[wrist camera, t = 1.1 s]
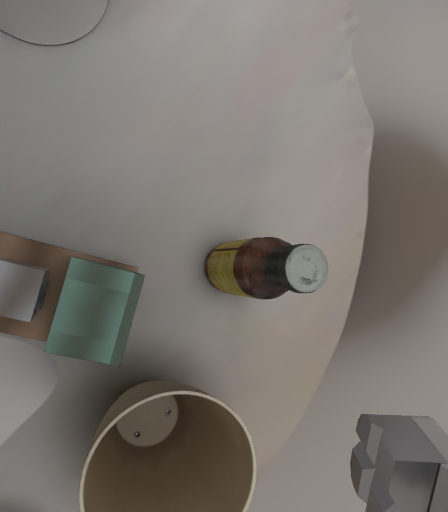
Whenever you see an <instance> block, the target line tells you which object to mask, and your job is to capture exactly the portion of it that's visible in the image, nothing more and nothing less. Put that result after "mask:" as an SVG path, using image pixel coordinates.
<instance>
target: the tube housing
mask: <svg viewBox="0 0 448 512" xmlns="http://www.w3.org/2000/svg"><path fill="white" fill-rule="evenodd" d="M137 271H138V268H136V267H132V266H128V265H125V264H121V263H117V262H113V261H109V260H106V259H102V258H98V257H94V256H91V255H87V254H83V253H79V252H75V251H72V250H68V249H64V248H60V247H56V246H53V245H49V244H45V243H41V242H37V241H34V240H30V239H26V238H22V237H18V236H15V235H11V234H7V233H3V232H0V332H3V333H8V334H13V335H18V336H23V337H28V338H33V339H38V340H43V341H47V343H46V346H45V350H44V352H47V353H53V354H58V355H63V356H68V357H73V358H79V359H84V360H89V361H94V362H99V363H105V364H110V365H115V366H120V363H121V360H122V356H123V353H124V349H125V345H126V342H127V338H128V335H129V331H130V327H131V324H132V320H133V317H134V313H135V309H136V306H137V302H138V299H139V295H140V291H141V288H142V284H143V281H144V277H145V276H144V275H142V274H139V273H137ZM43 279H44V280H48V281H50V284H49V289H48V292H47V296H46V299H45V302H44V305H43V307H42V310H40V309H35V306H36V302H37V299H38V295H39V292H40V289H41V285H42V282H43Z"/></svg>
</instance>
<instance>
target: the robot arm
mask: <svg viewBox="0 0 448 512" xmlns="http://www.w3.org/2000/svg"><path fill="white" fill-rule="evenodd" d="M107 3H108V0H0V30H2V31H4V32H6V33H8V34H10V35H12V36H14V37H16V38H18V39H21V40H24V41H27V42H30V43H35V44H41V45H59V44H65V43H69V42H72V41H75V40H77V39H79V38H81V37H83V36H84V35H86V34H87V33H89V32H90V31H91V30H92V29H93V28H94V27H95V26H96V25H97V24H98V22H99V21H100V20H101V18H102V16H103V14H104V12H105V9H106V6H107ZM356 432H357V434H358V436H359V438H360V440H361V441H360V442H359V443H358V444H357V445H356V446H355V447H354V448H353V449H352V456H351V462H350V465H351V478H352V482H353V486H354V489H355V491H356V493H357V496H358V497H359V498H361V499H362V500H363V501H364V502H366V503H367V507H366V512H448V435H447V434H446V433H445V432H444V431H443V429H442V428H441V427H440V426H439V425H438V423H437V422H436V421H435V420H434V419H433V418H431V417H429V416H401V415H374V414H361V415H360V417H359V419H358V422H357V427H356Z"/></svg>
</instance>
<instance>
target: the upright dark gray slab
mask: <svg viewBox="0 0 448 512" xmlns="http://www.w3.org/2000/svg"><path fill="white" fill-rule="evenodd" d="M49 284H50V281H48V280H44V279H43V282H42V285H41V289H40V292H39V295H38V299H37V302H36V306H35V309H40V310H42V307H43V305H44V302H45V299H46V296H47V292H48V289H49Z"/></svg>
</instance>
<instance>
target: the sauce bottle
mask: <svg viewBox="0 0 448 512" xmlns="http://www.w3.org/2000/svg"><path fill="white" fill-rule="evenodd" d="M327 274H328V263H327V260H326V257H325V255H324V254H323V252H322V251H321V250H320V249H319V248H317V247H316V246H314V245H310V244H298V245H291V244H289V243H287V242H285V241H283V240H281V239H279V238H274V237H264V238H252V239H246V240H239V241H233V242H227V243H224V244H221V245H219V246H218V247H217V248H215V249H214V250H212V251H211V252H210V254H209V256H208V258H207V261H206V275H207V277H208V279H209V281H210V282H211V284H212V285H213V286H214V287H215V288H217V289H219V290H221V291H223V292H225V293H230V294H235V295H241V296H246V297H251V298H257V299H273V298H277V297H279V296H281V295H283V294H284V293H285V292H287V291H288V290H291V291H292V292H295V293H311V292H314V291H316V290H317V289H319V288H320V287H321V286H322V285H323V284H324V283H325V281H326V278H327Z"/></svg>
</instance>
